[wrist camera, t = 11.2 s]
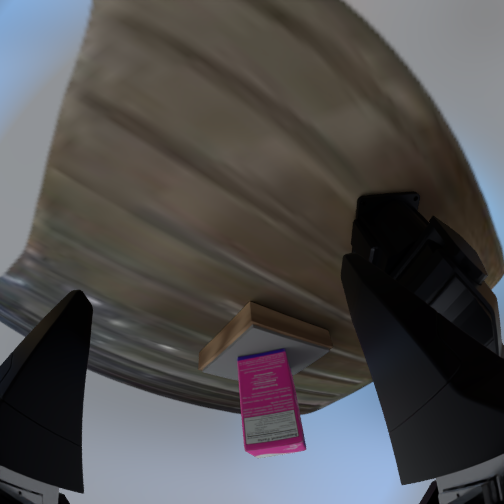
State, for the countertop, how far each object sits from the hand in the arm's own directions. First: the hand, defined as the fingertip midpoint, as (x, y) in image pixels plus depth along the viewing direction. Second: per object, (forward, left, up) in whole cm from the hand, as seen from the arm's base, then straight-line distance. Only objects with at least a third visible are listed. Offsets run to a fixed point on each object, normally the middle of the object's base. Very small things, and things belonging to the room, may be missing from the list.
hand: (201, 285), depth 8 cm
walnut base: (-1, +24, -13) cm, 27 cm away
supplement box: (-1, +24, -10) cm, 26 cm away
